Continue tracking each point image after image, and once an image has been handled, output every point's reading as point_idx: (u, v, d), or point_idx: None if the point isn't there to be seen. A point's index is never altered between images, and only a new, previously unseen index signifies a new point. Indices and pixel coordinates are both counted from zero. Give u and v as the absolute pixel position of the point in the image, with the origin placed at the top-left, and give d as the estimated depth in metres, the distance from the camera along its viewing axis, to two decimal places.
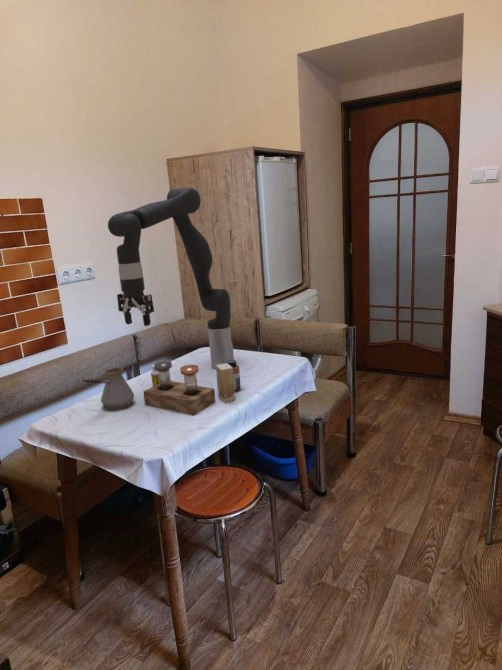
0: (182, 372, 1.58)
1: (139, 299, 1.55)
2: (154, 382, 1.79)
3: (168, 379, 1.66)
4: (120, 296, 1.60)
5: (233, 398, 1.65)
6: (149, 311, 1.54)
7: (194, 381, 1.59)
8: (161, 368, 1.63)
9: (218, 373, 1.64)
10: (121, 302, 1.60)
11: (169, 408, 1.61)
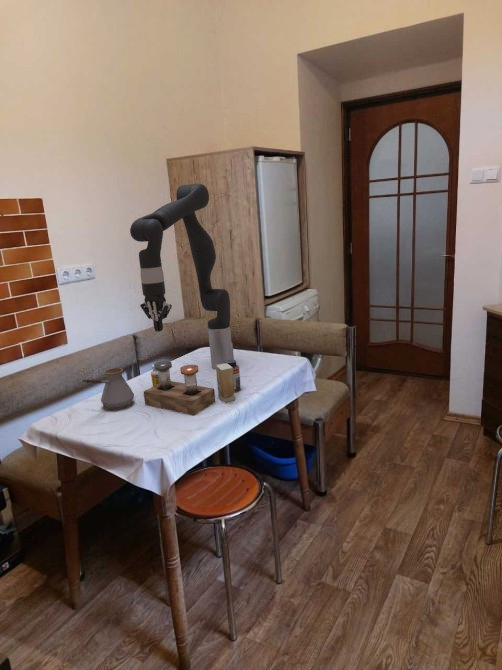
0: (182, 372, 1.58)
1: (159, 307, 1.58)
2: (154, 382, 1.79)
3: (168, 379, 1.66)
4: (143, 305, 1.63)
5: (233, 398, 1.65)
6: (162, 317, 1.59)
7: (194, 381, 1.59)
8: (161, 368, 1.63)
9: (218, 373, 1.64)
10: (147, 309, 1.63)
11: (169, 408, 1.61)
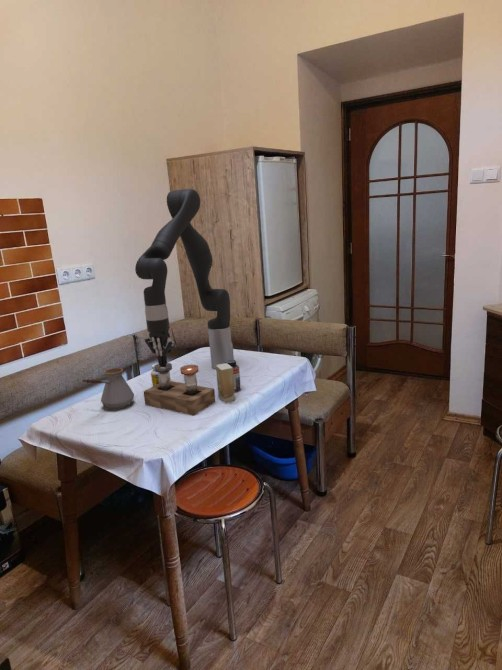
0: (182, 372, 1.58)
1: (164, 343, 1.62)
2: (154, 382, 1.79)
3: (168, 381, 1.66)
4: (147, 340, 1.66)
5: (233, 398, 1.65)
6: None
7: (194, 381, 1.59)
8: (161, 370, 1.63)
9: (218, 373, 1.64)
10: (151, 344, 1.66)
11: (169, 408, 1.61)
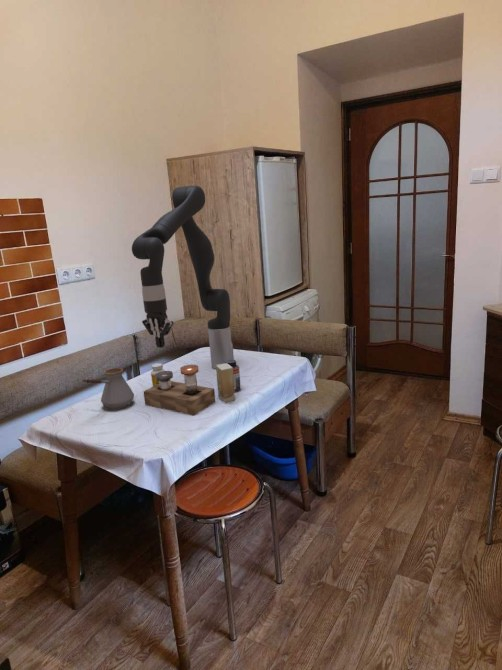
0: (182, 372, 1.58)
1: (161, 324, 1.60)
2: (154, 382, 1.79)
3: None
4: (145, 321, 1.64)
5: (233, 398, 1.65)
6: (164, 334, 1.61)
7: (194, 381, 1.59)
8: (162, 378, 1.64)
9: (218, 373, 1.64)
10: (148, 326, 1.64)
11: (169, 408, 1.61)
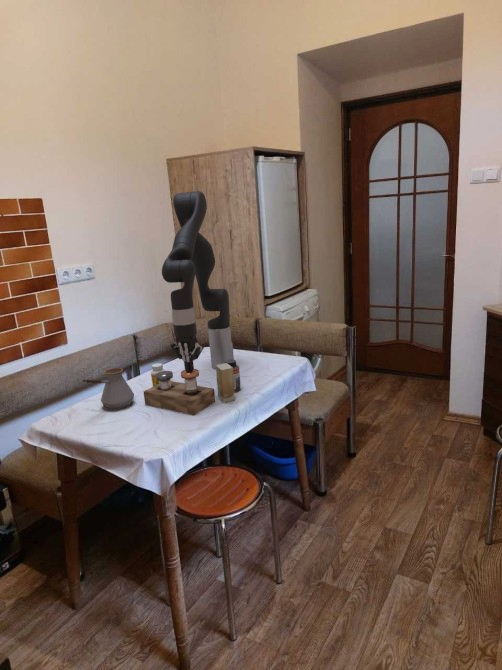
0: (182, 376, 1.58)
1: (191, 348, 1.55)
2: (154, 382, 1.79)
3: None
4: (173, 345, 1.60)
5: (233, 398, 1.65)
6: (193, 358, 1.56)
7: (194, 385, 1.60)
8: (162, 378, 1.64)
9: (218, 373, 1.64)
10: (177, 350, 1.59)
11: (169, 408, 1.61)
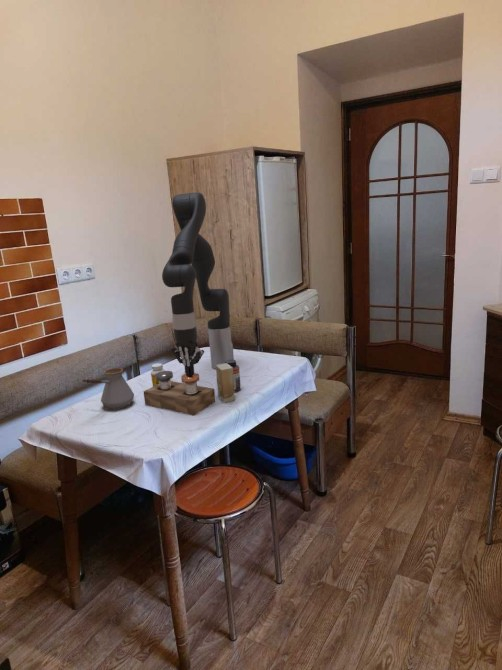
0: (183, 380, 1.58)
1: (192, 352, 1.56)
2: (154, 382, 1.79)
3: None
4: (174, 349, 1.60)
5: (233, 398, 1.65)
6: (194, 363, 1.57)
7: (195, 389, 1.60)
8: (162, 378, 1.64)
9: (218, 373, 1.64)
10: (178, 354, 1.60)
11: (169, 408, 1.61)
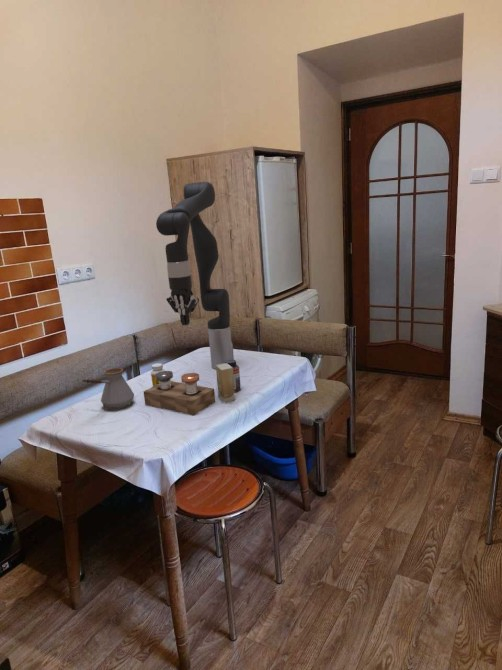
0: (183, 380, 1.58)
1: (187, 301, 1.58)
2: (154, 382, 1.79)
3: None
4: (169, 298, 1.62)
5: (233, 398, 1.65)
6: None
7: (195, 389, 1.60)
8: (162, 378, 1.64)
9: (218, 373, 1.64)
10: (173, 303, 1.62)
11: (169, 408, 1.61)
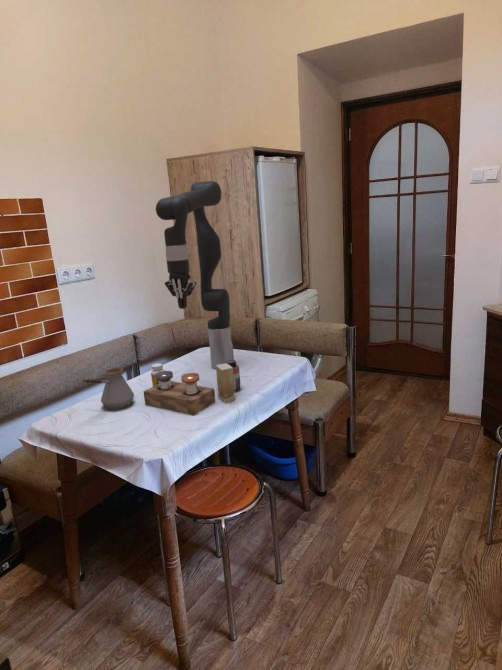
0: (183, 380, 1.58)
1: (184, 284, 1.62)
2: (154, 382, 1.79)
3: None
4: (167, 282, 1.66)
5: (233, 398, 1.65)
6: (186, 294, 1.63)
7: (195, 389, 1.60)
8: (162, 378, 1.64)
9: (218, 373, 1.64)
10: (171, 287, 1.66)
11: (169, 408, 1.61)
